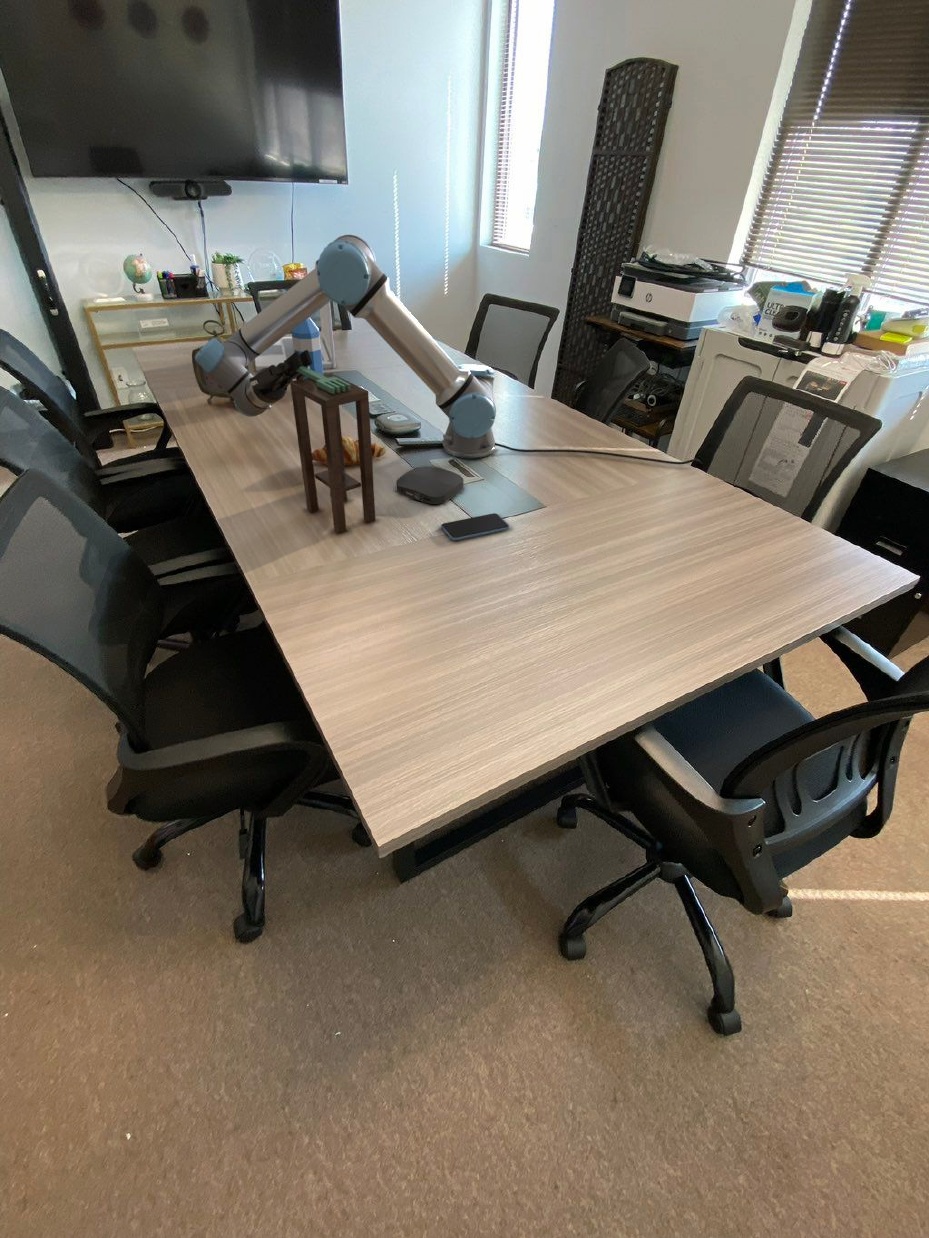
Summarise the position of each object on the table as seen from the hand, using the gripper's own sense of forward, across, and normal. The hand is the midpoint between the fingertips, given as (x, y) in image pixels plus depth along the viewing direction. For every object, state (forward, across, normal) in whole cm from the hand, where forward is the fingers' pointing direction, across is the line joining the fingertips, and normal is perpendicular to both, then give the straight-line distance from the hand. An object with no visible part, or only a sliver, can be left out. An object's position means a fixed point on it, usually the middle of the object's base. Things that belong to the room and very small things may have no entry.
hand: (303, 357), depth 126 cm
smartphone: (+12, -21, -46) cm, 52 cm away
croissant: (-30, -18, -22) cm, 41 cm away
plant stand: (-9, 0, -34) cm, 35 cm away
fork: (+1, 0, -4) cm, 5 cm away
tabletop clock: (-81, -11, +8) cm, 82 cm away
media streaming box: (-7, -25, -35) cm, 44 cm away
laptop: (-114, -54, +27) cm, 129 cm away
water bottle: (-78, -39, +6) cm, 87 cm away
